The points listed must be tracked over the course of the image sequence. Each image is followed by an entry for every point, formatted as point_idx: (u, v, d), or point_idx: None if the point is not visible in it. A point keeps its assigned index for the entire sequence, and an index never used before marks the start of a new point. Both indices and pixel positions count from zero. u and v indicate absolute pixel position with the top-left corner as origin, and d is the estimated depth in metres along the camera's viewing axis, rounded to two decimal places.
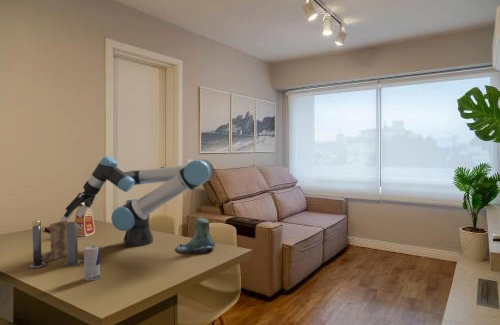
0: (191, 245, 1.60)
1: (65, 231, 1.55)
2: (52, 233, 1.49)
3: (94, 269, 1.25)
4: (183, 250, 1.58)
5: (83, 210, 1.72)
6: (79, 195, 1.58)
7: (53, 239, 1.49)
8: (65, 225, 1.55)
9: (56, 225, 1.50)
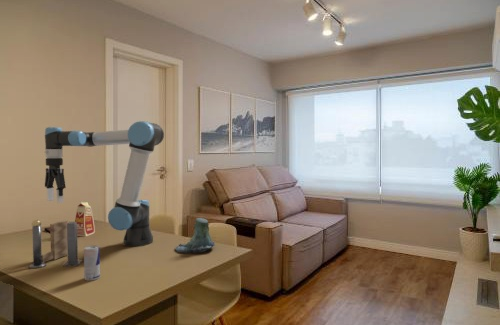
0: (190, 245, 1.60)
1: (65, 231, 1.55)
2: (52, 233, 1.49)
3: (94, 269, 1.25)
4: (182, 250, 1.58)
5: (51, 192, 1.73)
6: (60, 171, 1.65)
7: (53, 239, 1.49)
8: (65, 225, 1.55)
9: (56, 225, 1.50)
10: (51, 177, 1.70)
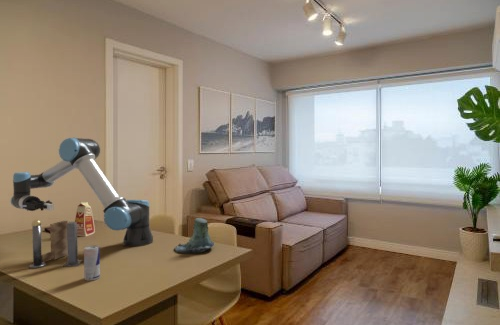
0: (189, 245, 1.60)
1: (65, 231, 1.55)
2: (52, 233, 1.49)
3: (94, 269, 1.25)
4: (181, 250, 1.58)
5: None
6: (24, 206, 1.63)
7: (53, 239, 1.49)
8: (65, 225, 1.55)
9: (56, 225, 1.50)
10: None
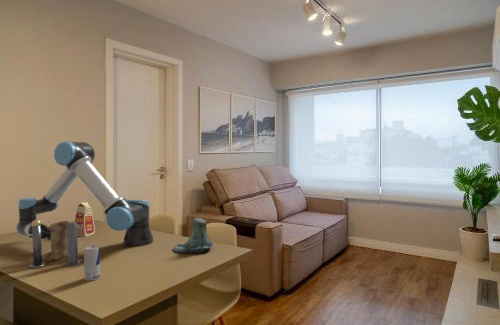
0: (188, 245, 1.60)
1: (66, 231, 1.55)
2: (53, 233, 1.49)
3: (94, 269, 1.25)
4: (180, 250, 1.58)
5: None
6: (30, 235, 1.58)
7: (53, 239, 1.49)
8: (66, 225, 1.55)
9: (56, 225, 1.50)
10: None
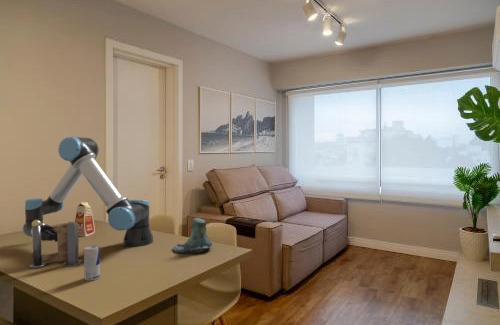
0: (187, 245, 1.60)
1: None
2: (58, 234, 1.47)
3: (94, 269, 1.25)
4: (179, 250, 1.58)
5: None
6: None
7: (58, 240, 1.47)
8: None
9: (62, 226, 1.47)
10: None
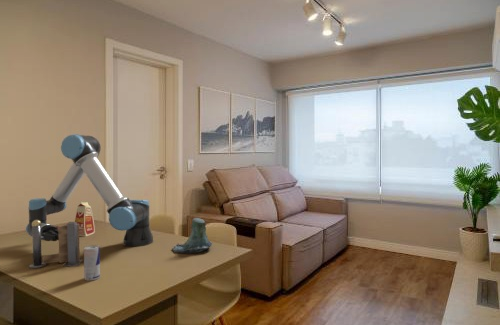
0: (187, 245, 1.60)
1: None
2: None
3: (94, 269, 1.25)
4: (179, 250, 1.58)
5: None
6: (41, 238, 1.53)
7: None
8: None
9: (62, 227, 1.45)
10: None
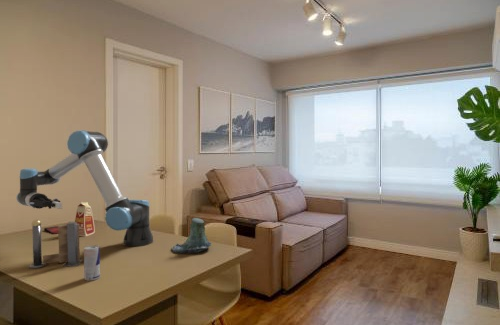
0: (186, 245, 1.60)
1: None
2: None
3: (94, 269, 1.25)
4: (178, 250, 1.58)
5: None
6: (31, 204, 1.60)
7: None
8: None
9: (62, 227, 1.45)
10: None
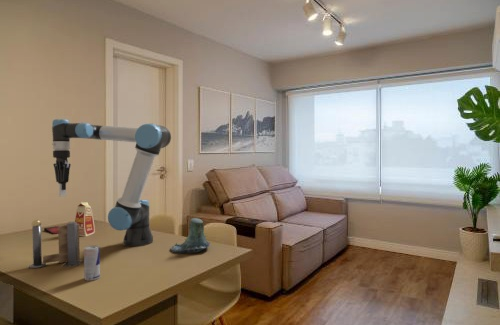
0: (185, 245, 1.60)
1: None
2: None
3: (94, 269, 1.25)
4: (176, 250, 1.58)
5: None
6: (66, 166, 1.65)
7: None
8: None
9: (62, 227, 1.45)
10: None
